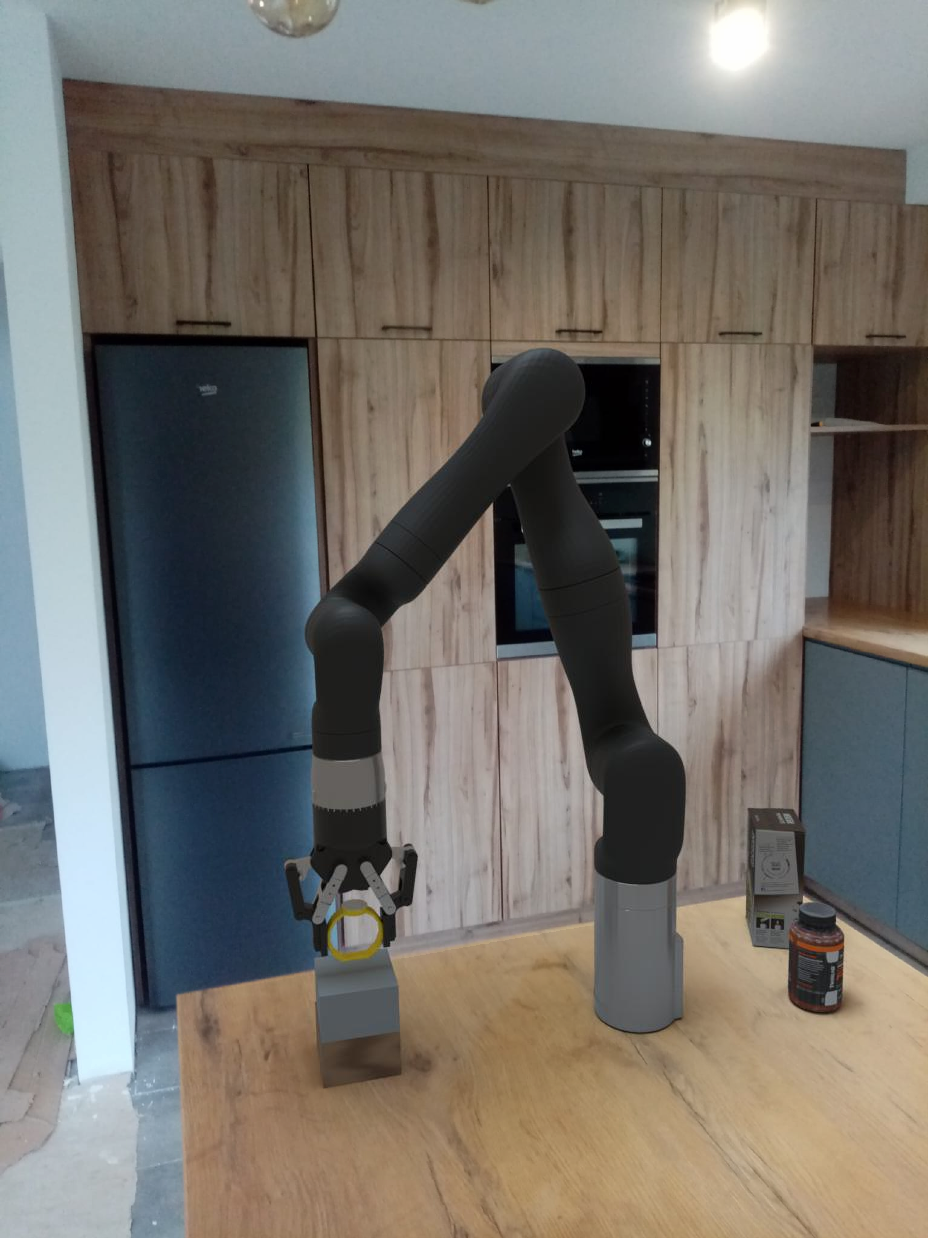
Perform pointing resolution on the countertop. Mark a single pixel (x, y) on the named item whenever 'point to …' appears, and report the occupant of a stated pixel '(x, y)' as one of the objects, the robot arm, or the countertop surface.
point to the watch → (354, 909)
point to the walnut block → (358, 1058)
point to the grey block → (356, 997)
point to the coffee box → (773, 874)
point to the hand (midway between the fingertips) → (354, 948)
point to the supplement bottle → (816, 959)
